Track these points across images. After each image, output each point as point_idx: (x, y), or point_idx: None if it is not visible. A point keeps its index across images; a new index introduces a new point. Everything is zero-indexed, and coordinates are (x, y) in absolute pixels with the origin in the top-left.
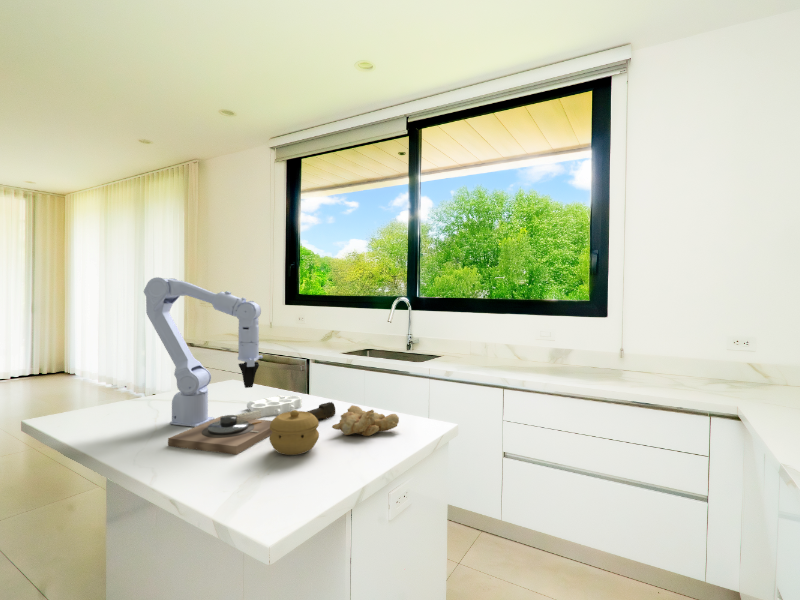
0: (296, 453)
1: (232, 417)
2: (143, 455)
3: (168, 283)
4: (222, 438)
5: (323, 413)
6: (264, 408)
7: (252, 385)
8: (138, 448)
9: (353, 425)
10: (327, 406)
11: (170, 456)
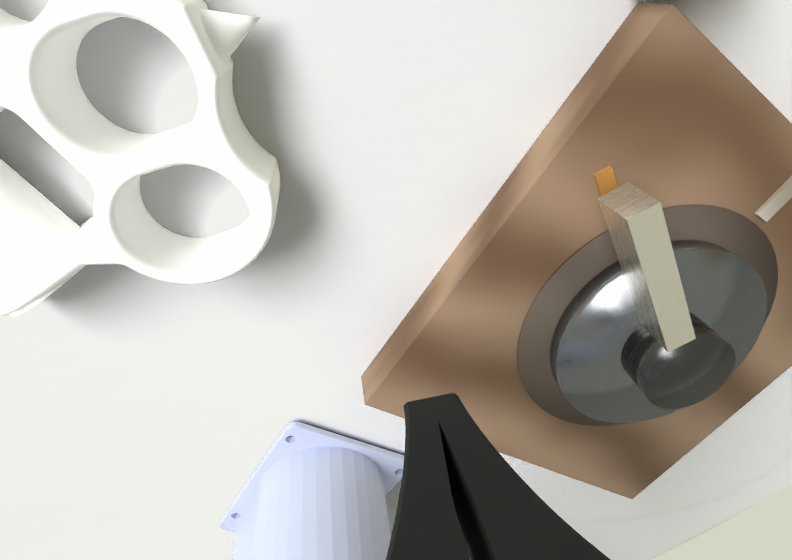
0: None
1: (710, 355)
2: (665, 500)
3: None
4: (769, 330)
5: None
6: (258, 168)
7: (461, 406)
8: (589, 530)
9: None
10: None
11: (726, 438)
